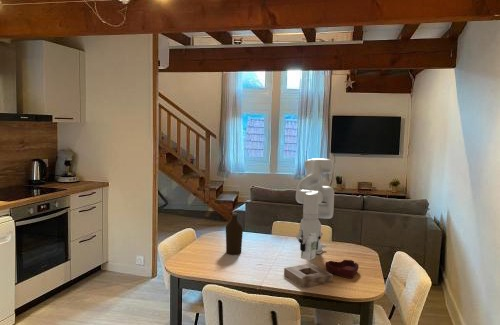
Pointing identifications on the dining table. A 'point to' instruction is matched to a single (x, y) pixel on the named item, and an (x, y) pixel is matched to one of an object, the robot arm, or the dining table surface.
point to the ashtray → (342, 268)
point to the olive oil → (234, 236)
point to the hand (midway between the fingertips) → (308, 249)
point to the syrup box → (310, 247)
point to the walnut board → (308, 275)
